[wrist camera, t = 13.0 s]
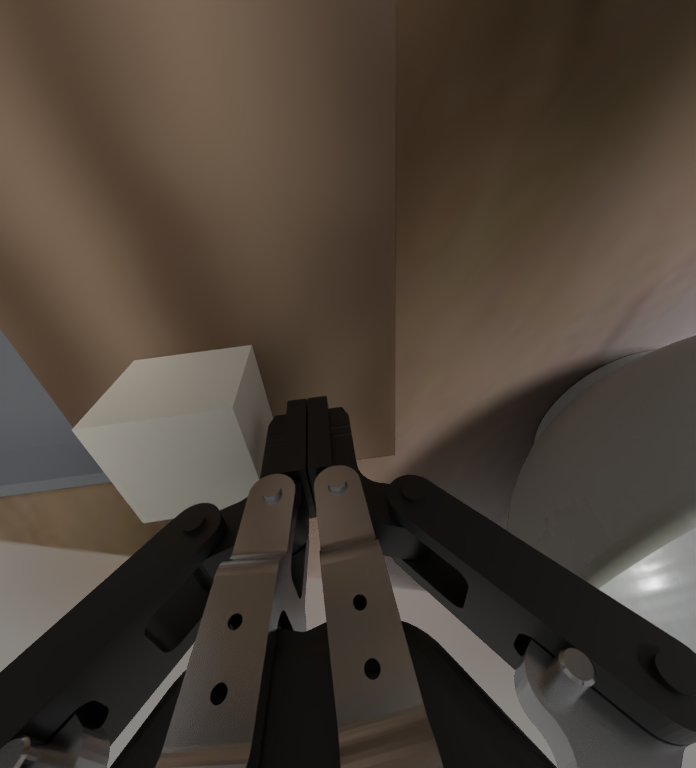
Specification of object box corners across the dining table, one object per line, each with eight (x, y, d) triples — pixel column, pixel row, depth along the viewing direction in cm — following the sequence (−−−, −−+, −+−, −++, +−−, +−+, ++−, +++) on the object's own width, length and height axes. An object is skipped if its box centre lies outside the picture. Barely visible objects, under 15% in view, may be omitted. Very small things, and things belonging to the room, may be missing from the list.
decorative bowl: (429, 543, 31) (486, 718, 21) (460, 256, 16) (697, 390, 6) (691, 505, 32) (861, 655, 22) (943, 201, 18) (1794, 244, 7)
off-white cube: (251, 344, 13) (232, 407, 9) (276, 430, 15) (268, 504, 12) (134, 360, 12) (71, 429, 9) (179, 444, 15) (142, 523, 12)
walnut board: (359, -132, 10) (397, -355, 6) (377, 398, 21) (394, 454, 17) (-128, -103, 9) (-487, -328, 5) (158, 425, 20) (120, 491, 16)
